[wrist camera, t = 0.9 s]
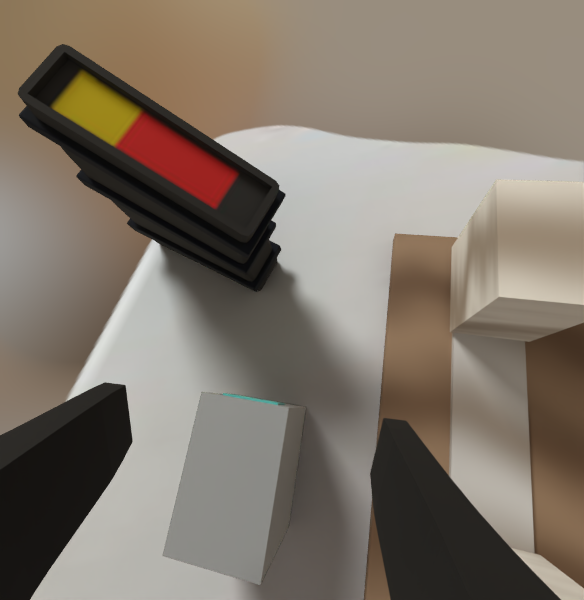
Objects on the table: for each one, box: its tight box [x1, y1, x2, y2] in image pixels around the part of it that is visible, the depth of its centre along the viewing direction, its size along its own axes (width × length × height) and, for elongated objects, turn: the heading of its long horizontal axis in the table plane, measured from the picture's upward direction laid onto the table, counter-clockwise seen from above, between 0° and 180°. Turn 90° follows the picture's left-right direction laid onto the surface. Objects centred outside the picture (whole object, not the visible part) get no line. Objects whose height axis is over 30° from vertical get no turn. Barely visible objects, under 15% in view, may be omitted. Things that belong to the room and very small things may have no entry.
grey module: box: [163, 392, 306, 585], centre depth 18 cm, size 7×4×7 cm, turn 170°
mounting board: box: [364, 180, 584, 600], centre depth 16 cm, size 25×12×8 cm, turn 170°
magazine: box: [18, 44, 285, 292], centre depth 21 cm, size 4×13×15 cm, turn 61°
